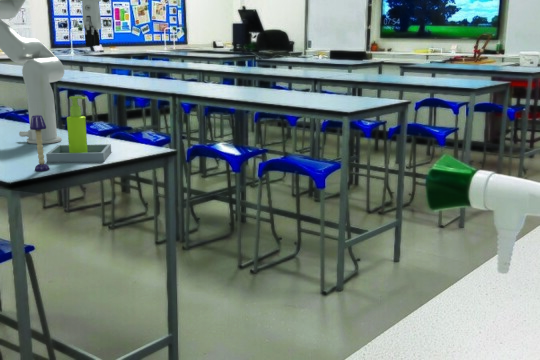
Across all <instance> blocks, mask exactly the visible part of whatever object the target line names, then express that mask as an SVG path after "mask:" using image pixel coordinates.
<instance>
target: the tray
mask: <svg viewBox="0 0 540 360" xmlns="http://www.w3.org/2000/svg"><path fill="white" fill-rule="evenodd" d="M87 151H88V153H69V144H57V145H56V146H55V147H53V148H52V149H50V150H49V151H48V152H47V153H45V157H46V163H47V164H62V163H65V164H67V163H68V164H71V163H73V164H74V163H104V162H105V161H107V159H108V158H109V156H110V155H111V154H112V145H111V144H110V143H108V144H104V143H103V144H96V143H95V144H87Z"/></svg>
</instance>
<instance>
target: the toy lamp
mask: <svg viewBox="0 0 540 360" xmlns="http://www.w3.org/2000/svg"><path fill="white" fill-rule="evenodd" d="M30 129H31V130H35V132H36V139H37V140H36V142H37V144H36V149H37V154H38V155H37V157H38V164H37V165H36V166H35V167H34V171H35V172H45V171H49V170H50V166H49V165H48V163H47V164H46V163H45V162H46V161H45V155H44V154H45V153H44V144H42V135H41V130H42V129H46V124H45V122H44V119H43V117H42V116H41V115H35V116H32V118H31V124H30V123H29V130H30Z"/></svg>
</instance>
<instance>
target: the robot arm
mask: <svg viewBox="0 0 540 360" xmlns="http://www.w3.org/2000/svg"><path fill="white" fill-rule="evenodd" d="M26 1H27V0H0V50H1V51H2V52H3V53H4V55H6V57H8V59H10V60H11V61H12V62H14V63H15V64H16V63H17V64H23V65H22V69H21V71H22V73H21V74H22V78H23V82H24V85H25V89H26V90H25V91H26V97H27V109H28V120H29V121H28V122H29V125H30V124H31V118H32V116H35V115H41V116H42V117H43V119H44V122H45V124H46V129H42V130H41V135H42V145H44V144H54V143H59V142H61V141H62V136H59V135H58V133H57V132H58V131H57V120H56V119H57V118H56V105H55V104H56V103H55V95H54V90H53V89H52V86H51V83H56V82H58V81H60V80H62V78H63V77H64V74H65V68H64V67H65V66H64V65H63V63H62V61H61V60H60V58H58V56H56V55H55V54H54V53H53V52H52V51H51V50H50V49H49V48H48V46H46V45H45V44H44V43H43V42H42V41H41V40H39V39H37V38H34V37H24V36H21V35H20V34H18V32H16V30H14V29H13V27H11V26H10V25H9V24H8V23H6V22H4V21H3V20H10V19H13V18H15V17H16V16H17V14H18V13H19V12H20V10H21V8H22V7H23V6H24V3H25V2H26ZM78 1H79V2H81V4H82V5H81V7H82V10H81V11H82V22H83V23H82V25H83V28H84V30H85V31H84V40H85V46H86V47H99V46H100V45H101V42H100V41H101V40H100V32H99V30H101V29H102V20H101V19H102V18H101V10H100V9H101V8H100V3H99V2H102V0H78ZM18 135H19V137H22V138H23V137H27V138H26V142H27V143H28V144H36V145H37V142H36V140H37V139H36V132H35V130H31V129H30V128H29V130H28V131H26V130H25V131H22V130H21V131H19V132H18Z"/></svg>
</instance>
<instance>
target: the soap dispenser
mask: <svg viewBox="0 0 540 360" xmlns="http://www.w3.org/2000/svg"><path fill="white" fill-rule="evenodd" d="M68 99H69V100H71V101H72V102H71V103H72V105H71V106H69V112H70V116H67V117H66V126H67V136H68V137H67V138H68V139H67V140H68V141H67V142H68V145H69V153H88V151H87V145H88V139H87V123H86V116H84V115H82V107H81V106H80V105H79V104H78V99H79V100H87V97H85V96H82V95H76V96H75V95H74V96H69V98H68Z"/></svg>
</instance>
